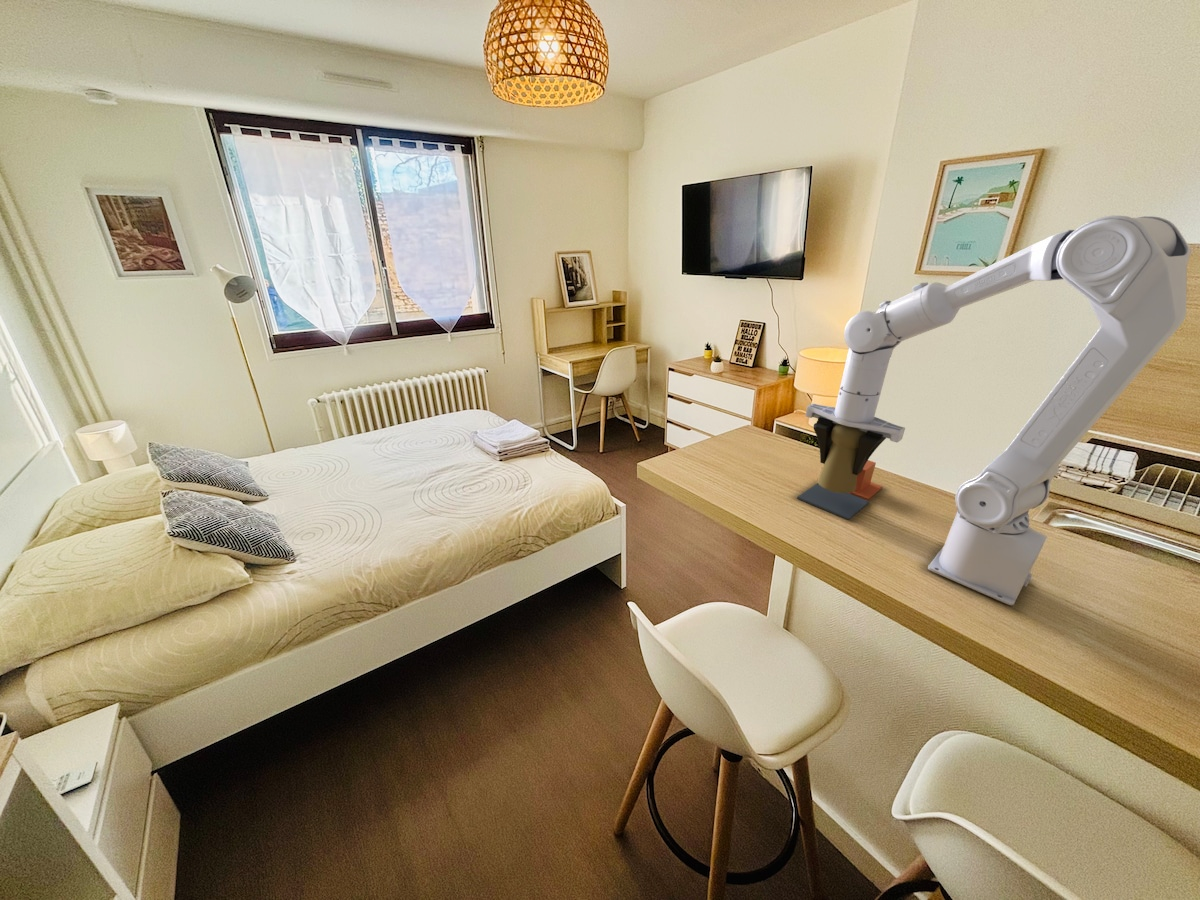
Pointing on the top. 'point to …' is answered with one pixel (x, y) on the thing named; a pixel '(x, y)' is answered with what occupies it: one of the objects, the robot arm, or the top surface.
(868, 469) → the terracotta block
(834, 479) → the cork
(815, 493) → the slate mat
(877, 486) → the terracotta mat
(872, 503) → the top surface
